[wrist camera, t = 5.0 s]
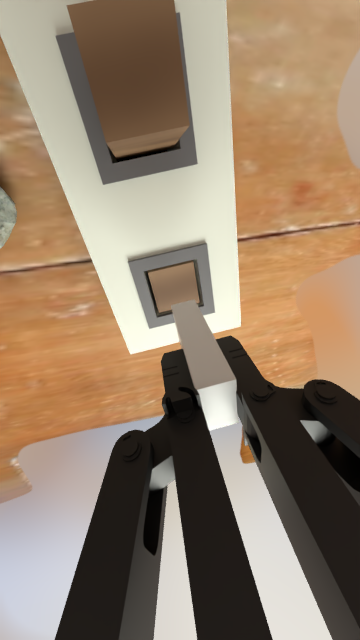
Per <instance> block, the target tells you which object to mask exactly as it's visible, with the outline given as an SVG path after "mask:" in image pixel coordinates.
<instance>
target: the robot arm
mask: <svg viewBox="0 0 360 640" xmlns="http://www.w3.org/2000/svg"><path fill="white" fill-rule="evenodd" d="M171 308H172V312H173V316H174V321H175V325H176V329H177V333H178V337H179V341H180V345H181V348H182V349H180V350H176V351H172V352H168V353H164V355H163V357H162V360H161V365H162V372H163V379H164V386H165V395H164V397H163V399H162V406H163V409H164V412H165V415H164V417H163V418H162V420H161V421H160V422H159V423H157V424H156V425H155V426H153V427H152V428H150V429H148V430H147V431H145V432H143V431H140V430H133V431H128V432H127V433H125V434H124V435H122V436H121V437H120V438H119V439H118V440H117V442H116V443H115V445H114V448H113V450H112V453H111V456H110V459H109V463H108V466H107V469H106V473H105V476H104V479H103V483H102V486H101V489H100V492H99V496H98V499H97V502H96V506H95V509H94V512H93V515H92V519H91V522H90V525H89V529H88V532H87V535H86V538H85V542H84V545H83V549H82V552H81V555H80V558H79V562H78V565H77V568H76V571H75V575H74V578H73V582H72V585H71V588H70V591H69V595H68V598H67V601H66V605H65V608H64V611H63V614H62V618H61V621H60V624H59V627H58V631H57V634H56V637H55V640H153V638H154V627H155V615H156V605H157V594H158V584H159V572H160V561H161V551H162V540H163V528H164V517H165V507H166V496H167V485H168V484H169V483H171V482H172V481H173V480H176V487H177V494H178V502H179V508H180V516H181V523H182V530H183V538H184V545H185V552H186V560H187V567H188V574H189V582H190V589H191V596H192V604H193V611H194V618H195V624H196V633H197V640H272V636H271V634H270V630H269V626H268V623H267V620H266V616H265V613H264V610H263V607H262V603H261V601H260V597H259V593H258V590H257V587H256V584H255V580H254V577H253V574H252V570H251V567H250V564H249V560H248V557H247V554H246V551H245V547H244V544H243V541H242V538H241V534H240V531H239V528H238V524H237V521H236V518H235V515H234V511H233V508H232V505H231V501H230V498H229V495H228V491H227V488H226V485H225V481H224V478H223V475H222V472H221V468H220V465H219V462H218V458H217V455H216V452H215V448H214V445H213V442H212V438H211V435H210V432H209V431H210V430H214V429H217V428H221V427H224V426H228V425H232V424H235V423H239V418H240V420H241V422H242V425H243V435H244V444H245V446H246V445H249V447H250V450H251V452H252V454H253V457H254V459H255V461H256V464H257V466H258V468H259V470H260V473H261V475H262V477H263V480H264V482H265V484H266V487H267V489H268V491H269V494H270V496H271V498H272V501H273V503H274V505H275V507H276V510H277V512H278V514H279V517H280V519H281V521H282V524H283V526H284V528H285V531H286V533H287V535H288V538H289V540H290V542H291V544H292V547H293V549H294V551H295V554H296V556H297V558H298V561H299V563H300V565H301V567H302V570H303V572H304V575H305V577H306V579H307V581H308V584H309V586H310V588H311V591H312V593H313V595H314V598H315V600H316V602H317V605H318V607H319V609H320V611H321V614H322V616H323V618H324V621H325V623H326V625H327V628H328V630H329V632H330V635H331V637H332V639H333V640H360V400H358V399H357V398H355V397H354V396H352V395H351V394H350V393H348V392H347V391H346V390H344V389H343V388H341V387H340V386H338V385H336V384H334V383H332V382H330V381H326V380H312V381H309V382H307V383H306V384H305V385H304V389H292V388H280V387H277V386H275V385H274V384H273V383H271V382H269V381H267V380H265V379H264V378H263V376H262V375H261V373H260V372H259V370H258V369H257V367H256V366H255V364H254V363H253V361H252V360H251V358H250V357H249V355H247V352H246V351H245V349H244V348H243V346H242V345H241V343H240V342H239V341H238V340H237V339H235V338H234V337H232V336H227V337H224V338H220V339H215V338H214V336H213V334H212V332H211V330H210V328H209V326H208V324H207V322H206V320H205V318H204V316H203V315H202V313H201V311H200V309H199V307H198V305H197V303H196V301H195V299H194V300H190V301H186V302H182V303H178V304H174V305H171ZM238 417H239V418H238Z"/></svg>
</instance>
